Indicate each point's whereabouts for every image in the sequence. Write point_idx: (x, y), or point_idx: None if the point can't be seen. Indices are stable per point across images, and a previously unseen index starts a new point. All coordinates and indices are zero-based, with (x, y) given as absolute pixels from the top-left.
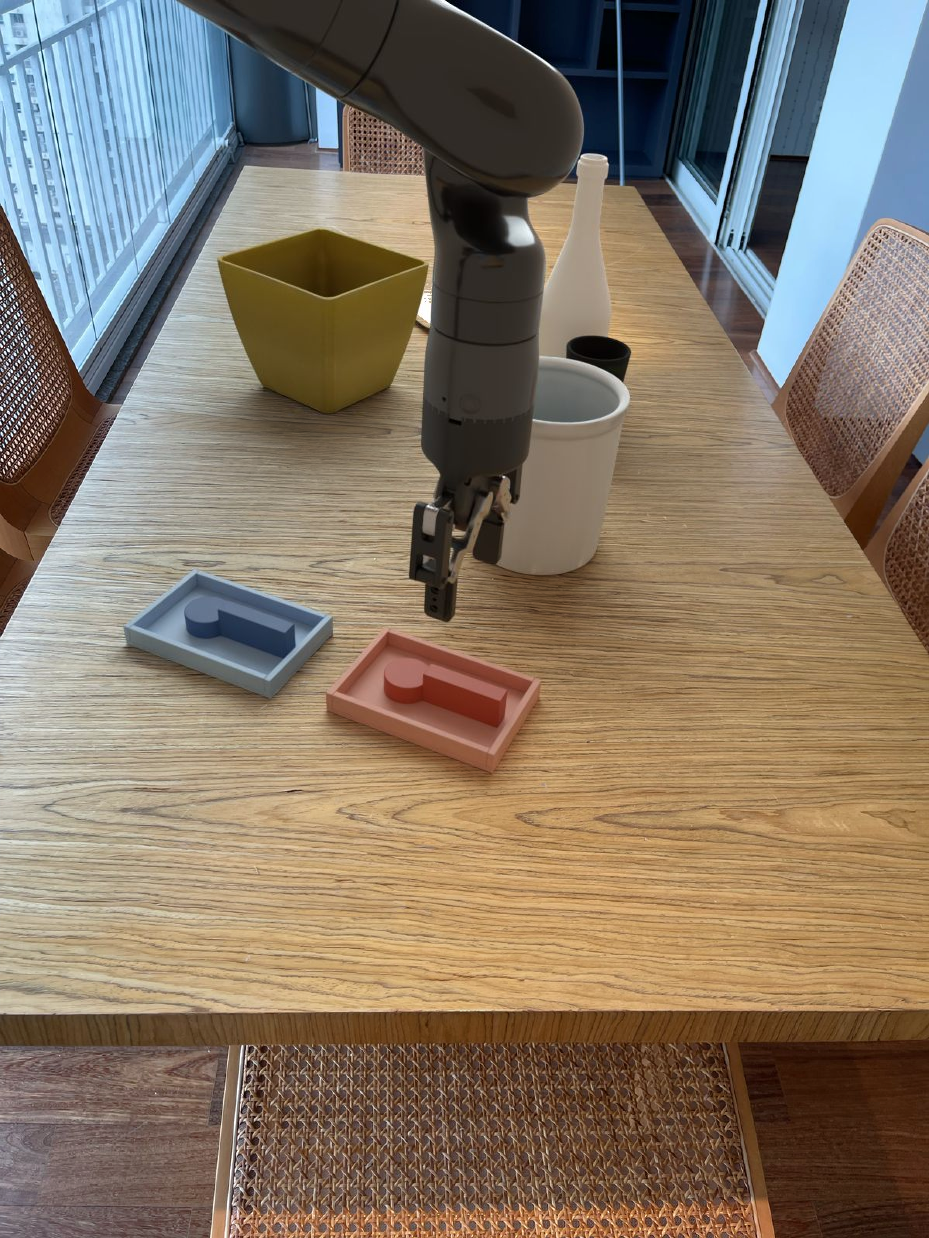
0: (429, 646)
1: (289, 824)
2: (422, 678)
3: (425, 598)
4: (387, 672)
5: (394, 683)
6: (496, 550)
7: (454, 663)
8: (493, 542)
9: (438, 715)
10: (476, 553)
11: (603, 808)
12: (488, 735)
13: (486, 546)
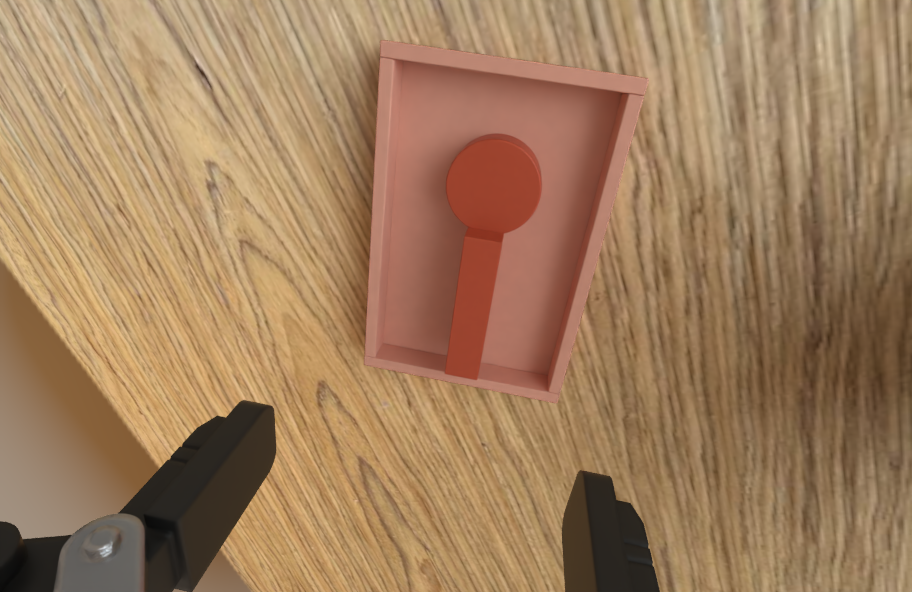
0: (599, 202)
1: (148, 100)
2: (485, 222)
3: (214, 434)
4: (479, 149)
5: (452, 174)
6: (565, 569)
7: (582, 250)
8: (570, 588)
9: (448, 252)
10: (579, 491)
11: (378, 464)
12: (433, 333)
13: (574, 548)
